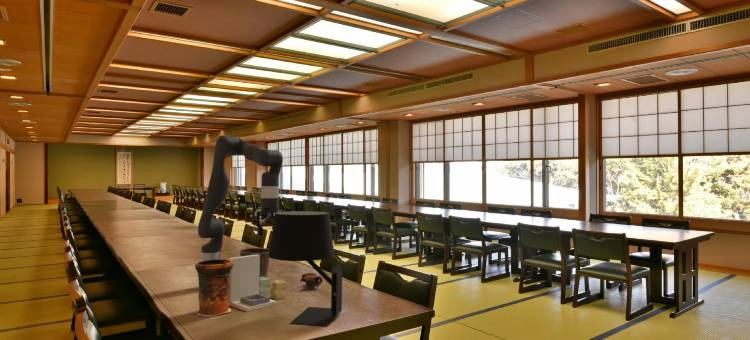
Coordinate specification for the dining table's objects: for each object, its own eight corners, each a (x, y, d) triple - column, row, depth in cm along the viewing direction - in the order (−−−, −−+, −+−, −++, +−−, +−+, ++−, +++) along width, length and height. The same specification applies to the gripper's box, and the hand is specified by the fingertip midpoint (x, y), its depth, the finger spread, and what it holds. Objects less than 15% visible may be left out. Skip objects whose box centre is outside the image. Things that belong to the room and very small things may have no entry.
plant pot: (277, 280, 233) (278, 249, 234) (254, 286, 220) (254, 253, 220) (255, 276, 242) (256, 246, 242) (231, 282, 228) (232, 250, 229)
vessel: (210, 319, 168) (211, 265, 169) (186, 313, 175) (187, 262, 176) (240, 310, 180) (241, 260, 181) (217, 305, 188) (217, 257, 188)
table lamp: (329, 328, 160) (331, 216, 161) (255, 323, 165) (258, 214, 166) (346, 308, 185) (348, 211, 186) (282, 304, 190) (283, 209, 191)
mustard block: (269, 297, 201) (270, 281, 201) (278, 295, 205) (279, 279, 205) (276, 299, 198) (277, 283, 198) (285, 297, 202) (286, 281, 202)
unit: (227, 304, 188) (228, 258, 188) (255, 298, 199) (256, 254, 199) (247, 311, 179) (248, 262, 179) (276, 304, 189) (276, 258, 190)
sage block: (254, 293, 207) (255, 278, 207) (263, 291, 210) (264, 276, 211) (261, 295, 203) (261, 280, 203) (270, 293, 207) (270, 278, 207)
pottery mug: (296, 290, 215) (296, 274, 219) (305, 295, 223) (305, 279, 227) (319, 286, 212) (319, 269, 217) (327, 291, 220) (327, 274, 224)
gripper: (277, 196, 197) (277, 233, 197) (250, 196, 186) (249, 236, 186) (288, 196, 192) (287, 234, 192) (260, 197, 182) (260, 237, 181)
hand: (268, 235), depth 189 cm, fingers open, 8 cm apart
